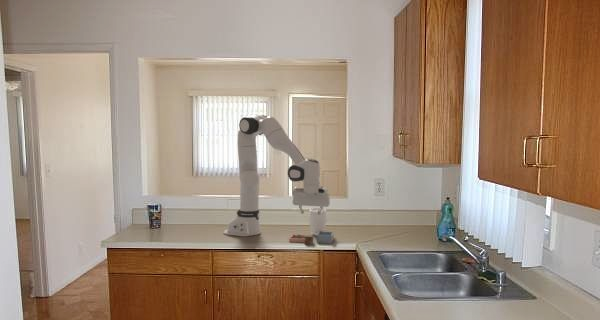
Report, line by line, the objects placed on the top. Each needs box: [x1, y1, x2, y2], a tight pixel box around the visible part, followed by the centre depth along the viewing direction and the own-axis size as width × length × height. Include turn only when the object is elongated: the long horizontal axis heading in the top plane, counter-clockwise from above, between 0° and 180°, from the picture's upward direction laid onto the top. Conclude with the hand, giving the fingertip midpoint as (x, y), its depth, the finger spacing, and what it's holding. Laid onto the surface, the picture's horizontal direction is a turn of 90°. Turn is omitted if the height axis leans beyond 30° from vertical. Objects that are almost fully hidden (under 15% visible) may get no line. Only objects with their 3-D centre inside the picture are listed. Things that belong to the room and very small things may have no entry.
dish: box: [288, 234, 307, 244], centre depth 238 cm, size 9×9×2 cm
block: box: [304, 234, 314, 246], centre depth 231 cm, size 4×4×5 cm
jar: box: [308, 207, 327, 236], centre depth 254 cm, size 11×10×15 cm
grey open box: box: [316, 231, 334, 244], centre depth 236 cm, size 8×8×5 cm
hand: (310, 213), depth 231 cm, fingers open, 8 cm apart
